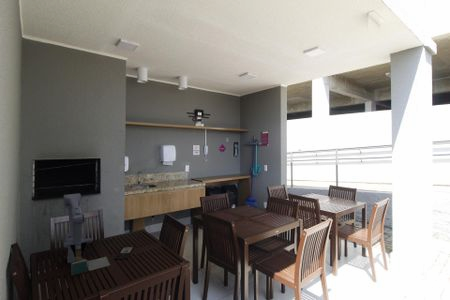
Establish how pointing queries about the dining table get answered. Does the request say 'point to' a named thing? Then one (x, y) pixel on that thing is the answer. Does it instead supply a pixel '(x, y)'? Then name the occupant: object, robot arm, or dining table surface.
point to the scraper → (78, 256)
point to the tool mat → (97, 263)
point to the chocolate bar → (124, 253)
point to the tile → (78, 267)
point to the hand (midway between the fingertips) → (78, 255)
